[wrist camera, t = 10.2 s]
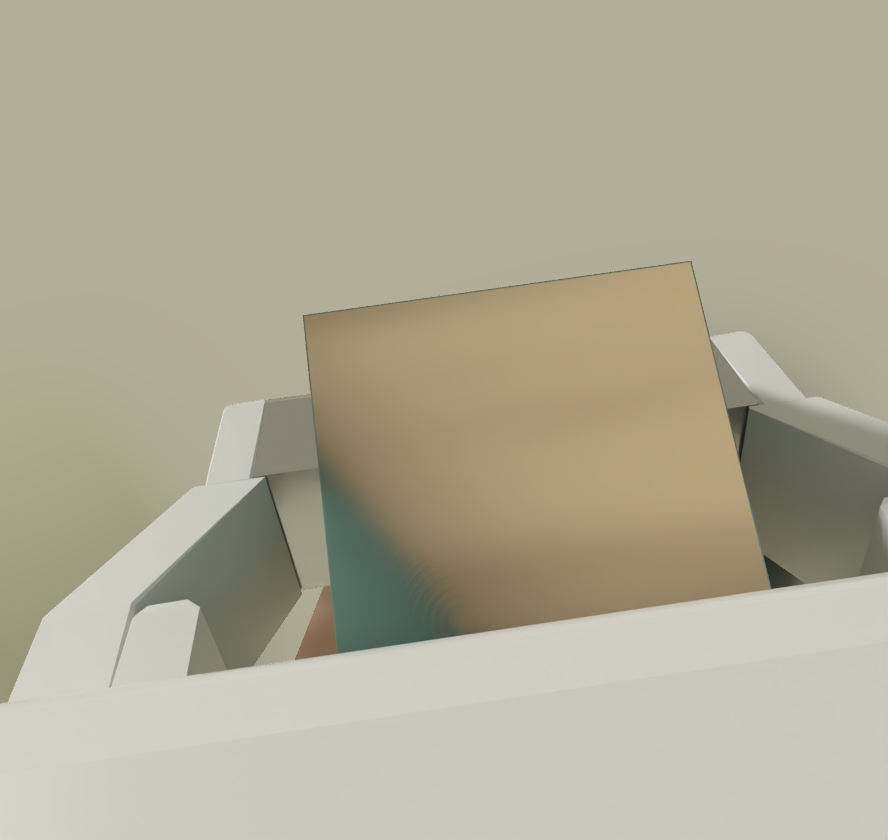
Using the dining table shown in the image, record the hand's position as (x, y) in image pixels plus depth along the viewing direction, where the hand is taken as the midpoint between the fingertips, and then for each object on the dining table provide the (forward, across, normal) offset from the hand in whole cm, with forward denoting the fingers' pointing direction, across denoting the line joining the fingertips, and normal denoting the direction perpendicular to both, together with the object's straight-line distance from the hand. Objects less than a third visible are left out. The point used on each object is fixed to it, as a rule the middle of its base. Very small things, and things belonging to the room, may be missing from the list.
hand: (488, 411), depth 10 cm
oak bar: (+3, 0, +9) cm, 9 cm away
